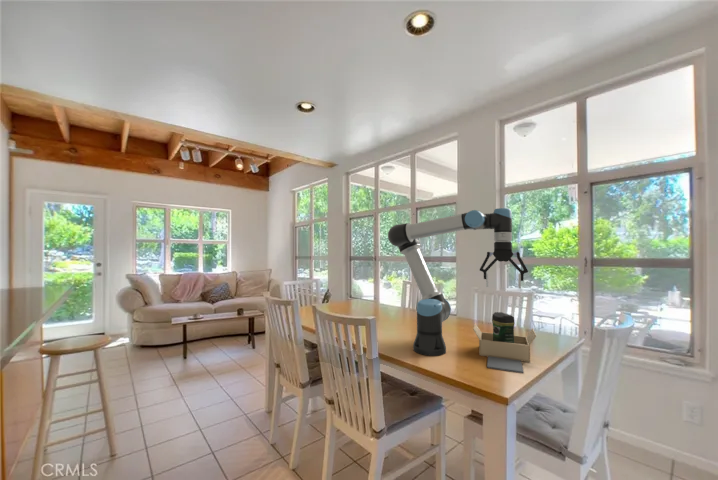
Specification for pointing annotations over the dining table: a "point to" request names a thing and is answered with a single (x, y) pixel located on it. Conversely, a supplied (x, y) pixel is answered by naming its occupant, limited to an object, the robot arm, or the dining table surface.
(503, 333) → the coffee jar
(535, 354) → the dining table surface
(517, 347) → the carton
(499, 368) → the mat
